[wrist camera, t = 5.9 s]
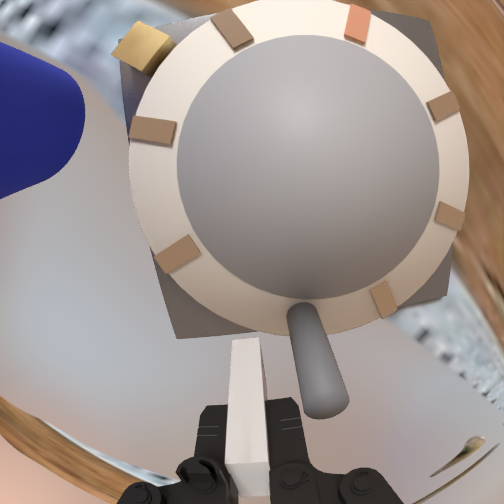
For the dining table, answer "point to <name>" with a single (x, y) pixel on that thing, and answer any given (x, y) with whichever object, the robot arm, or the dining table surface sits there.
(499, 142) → the dining table surface
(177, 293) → the bearing plate
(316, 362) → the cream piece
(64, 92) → the mug
